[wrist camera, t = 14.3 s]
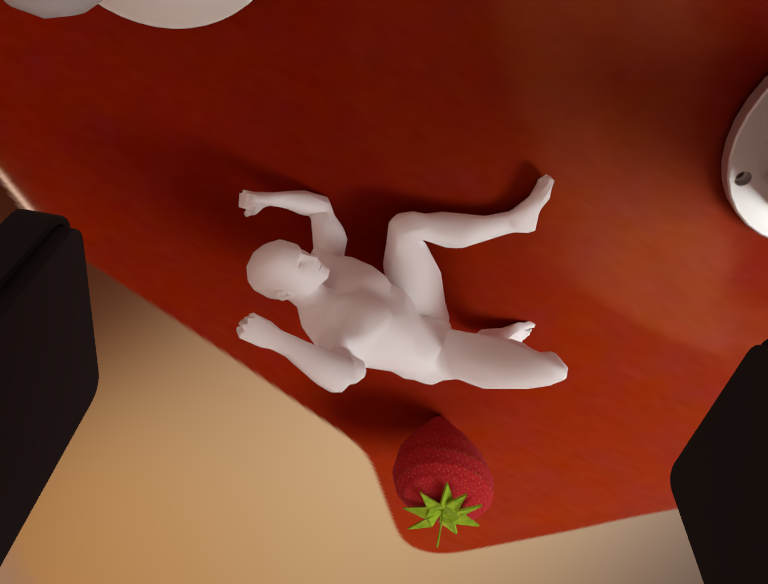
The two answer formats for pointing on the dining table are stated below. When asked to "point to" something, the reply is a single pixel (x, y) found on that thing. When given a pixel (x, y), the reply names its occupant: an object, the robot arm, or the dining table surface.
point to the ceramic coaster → (174, 11)
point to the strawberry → (442, 477)
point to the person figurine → (389, 300)
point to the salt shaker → (53, 7)
